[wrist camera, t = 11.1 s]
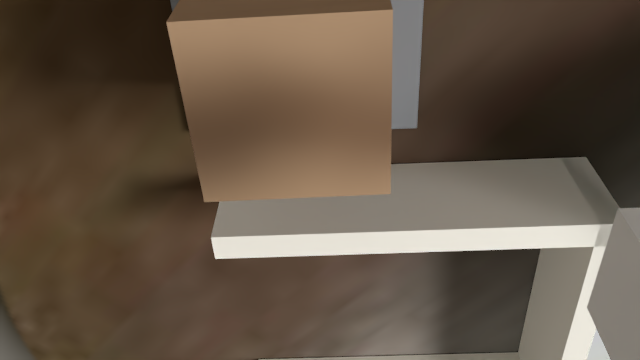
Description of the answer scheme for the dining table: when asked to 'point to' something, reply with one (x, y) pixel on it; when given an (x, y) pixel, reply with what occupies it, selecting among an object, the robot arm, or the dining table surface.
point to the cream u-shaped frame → (456, 235)
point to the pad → (402, 61)
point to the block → (286, 96)
